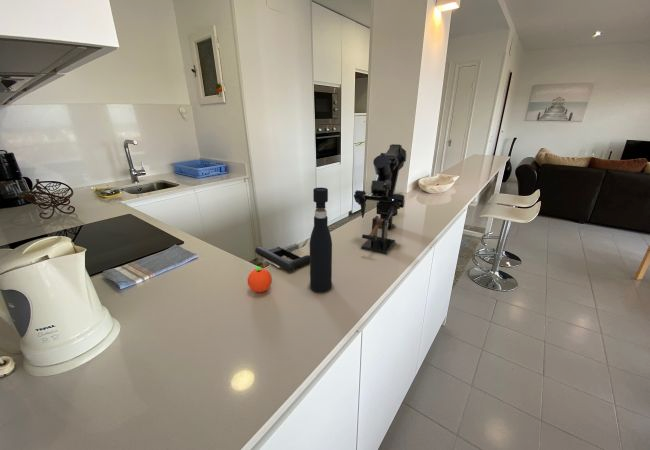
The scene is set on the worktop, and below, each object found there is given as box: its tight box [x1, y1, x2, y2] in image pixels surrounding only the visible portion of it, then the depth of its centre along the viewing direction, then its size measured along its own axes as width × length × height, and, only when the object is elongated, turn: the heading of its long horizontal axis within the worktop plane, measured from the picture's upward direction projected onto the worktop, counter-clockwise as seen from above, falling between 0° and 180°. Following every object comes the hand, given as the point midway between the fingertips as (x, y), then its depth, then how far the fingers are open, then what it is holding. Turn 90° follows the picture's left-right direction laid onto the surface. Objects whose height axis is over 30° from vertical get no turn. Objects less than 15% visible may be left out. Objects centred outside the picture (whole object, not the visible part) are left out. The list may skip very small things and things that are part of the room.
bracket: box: [360, 215, 396, 255], centre depth 108 cm, size 12×10×12 cm
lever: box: [361, 217, 384, 241], centre depth 102 cm, size 14×5×2 cm, turn 151°
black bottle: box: [309, 187, 333, 293], centre depth 78 cm, size 6×6×30 cm
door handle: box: [254, 243, 310, 273], centre depth 100 cm, size 3×20×16 cm
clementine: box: [247, 266, 273, 293], centre depth 81 cm, size 8×7×7 cm
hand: (374, 218), depth 103 cm, fingers open, 9 cm apart
